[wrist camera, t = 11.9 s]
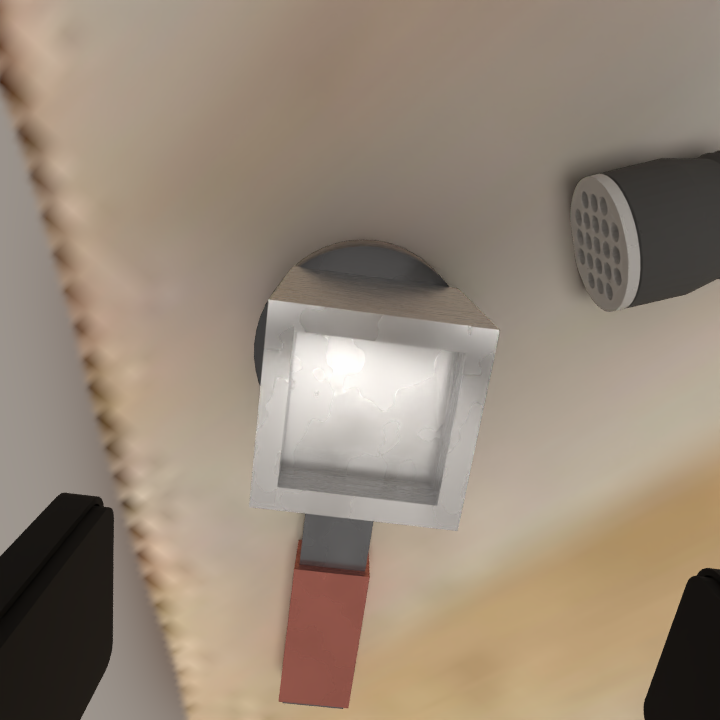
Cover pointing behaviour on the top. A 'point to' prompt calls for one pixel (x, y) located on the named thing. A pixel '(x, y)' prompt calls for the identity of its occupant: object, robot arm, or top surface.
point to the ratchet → (334, 527)
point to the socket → (370, 398)
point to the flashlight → (648, 230)
